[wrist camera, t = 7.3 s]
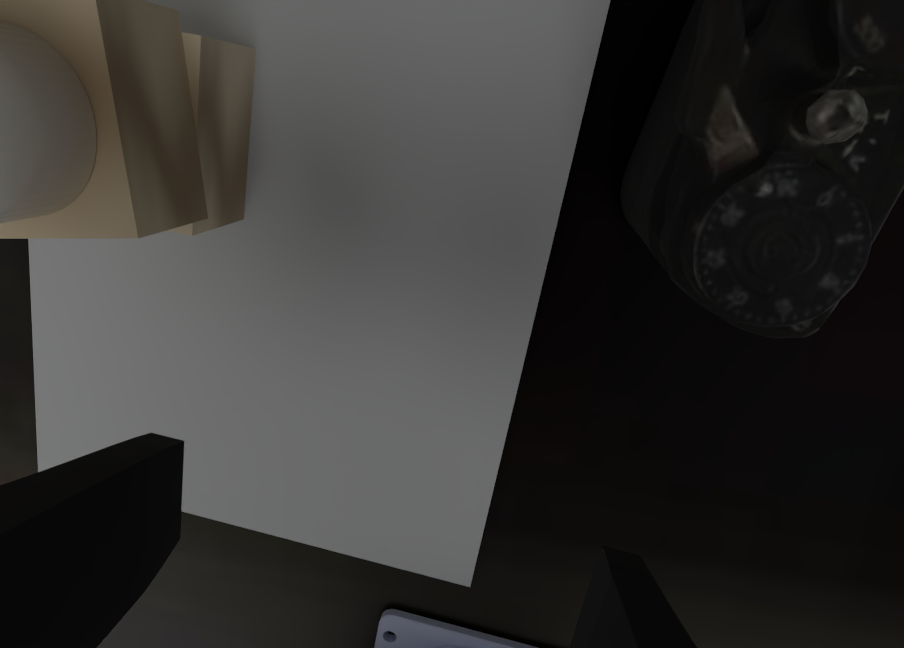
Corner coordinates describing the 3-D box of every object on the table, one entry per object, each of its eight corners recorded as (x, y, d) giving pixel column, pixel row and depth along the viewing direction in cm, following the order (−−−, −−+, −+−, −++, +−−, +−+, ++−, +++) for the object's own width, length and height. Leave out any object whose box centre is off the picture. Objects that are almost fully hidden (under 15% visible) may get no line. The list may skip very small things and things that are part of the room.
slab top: (207, 218, 17) (138, 238, 14) (41, 219, 18) (-58, 238, 15) (178, 10, 15) (93, -14, 12) (-3, 21, 16) (-123, 1, 13)
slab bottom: (243, 219, 20) (192, 235, 17) (96, 187, 20) (22, 198, 17) (256, 48, 18) (201, 35, 15) (95, 18, 19) (13, 0, 16)
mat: (471, 579, 23) (470, 587, 23) (46, 468, 25) (38, 473, 24) (616, -28, 17) (617, -31, 16) (23, -129, 18) (12, -134, 18)
